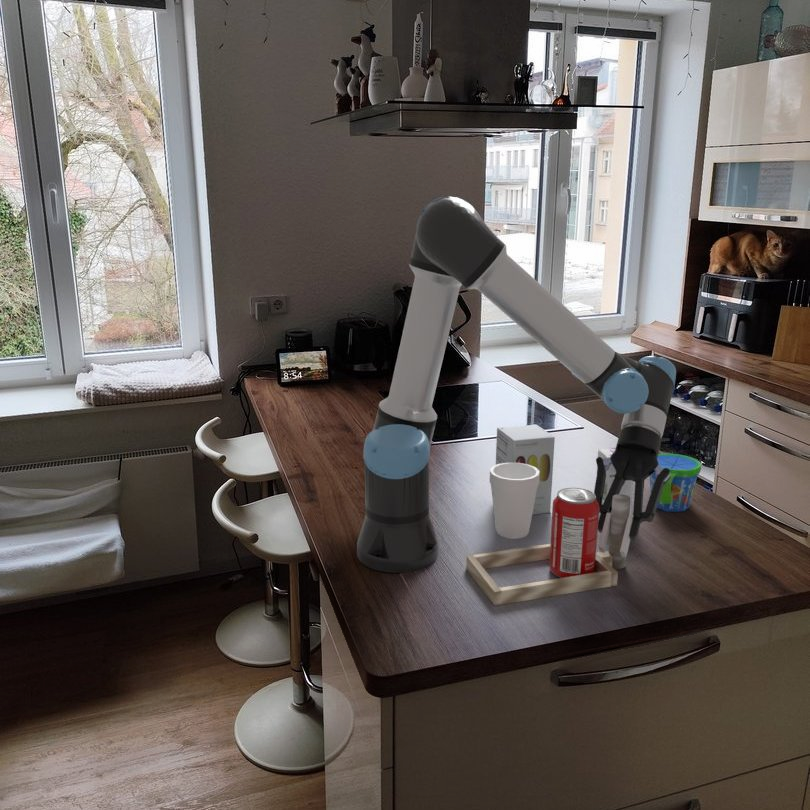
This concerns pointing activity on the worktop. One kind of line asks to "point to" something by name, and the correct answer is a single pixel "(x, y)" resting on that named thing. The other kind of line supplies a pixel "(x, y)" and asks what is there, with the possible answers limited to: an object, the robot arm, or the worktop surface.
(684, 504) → the snack cup
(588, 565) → the soda can
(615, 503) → the birch pull frame
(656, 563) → the worktop surface
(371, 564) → the robot arm
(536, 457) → the supplement box
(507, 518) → the foam cup
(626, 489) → the syrup box
